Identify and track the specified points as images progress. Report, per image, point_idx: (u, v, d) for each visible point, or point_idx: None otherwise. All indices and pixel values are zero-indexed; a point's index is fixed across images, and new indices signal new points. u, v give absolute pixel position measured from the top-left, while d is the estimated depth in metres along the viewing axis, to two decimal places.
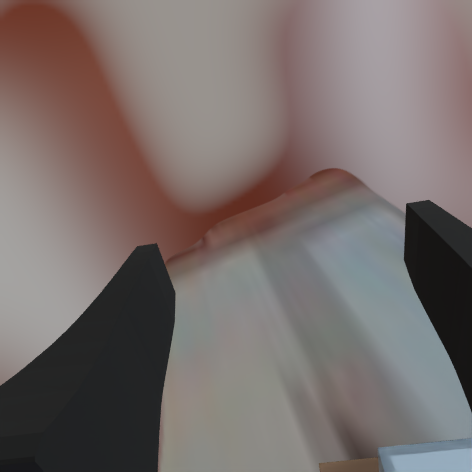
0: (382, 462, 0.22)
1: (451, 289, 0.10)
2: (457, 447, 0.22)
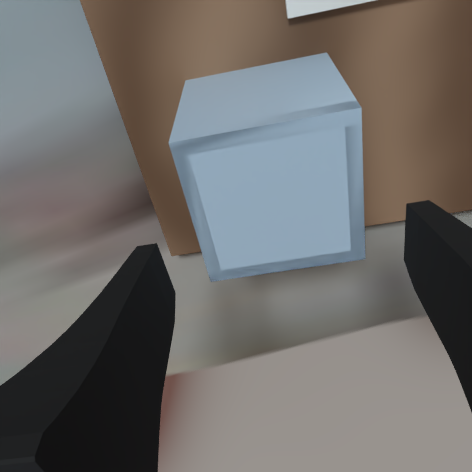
0: (229, 277, 0.17)
1: (451, 289, 0.10)
2: (197, 197, 0.15)
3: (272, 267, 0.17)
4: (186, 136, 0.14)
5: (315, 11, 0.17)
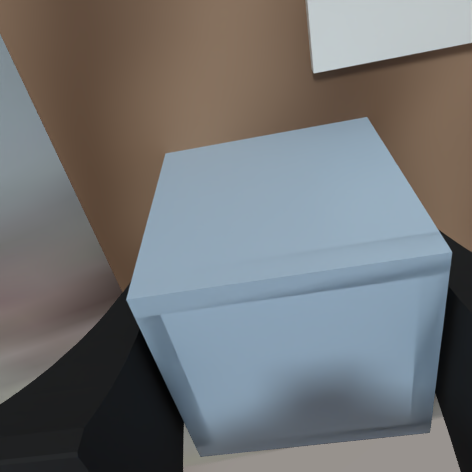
0: (228, 451, 0.12)
1: None
2: (176, 366, 0.09)
3: (291, 442, 0.11)
4: (156, 287, 0.08)
5: (354, 63, 0.11)
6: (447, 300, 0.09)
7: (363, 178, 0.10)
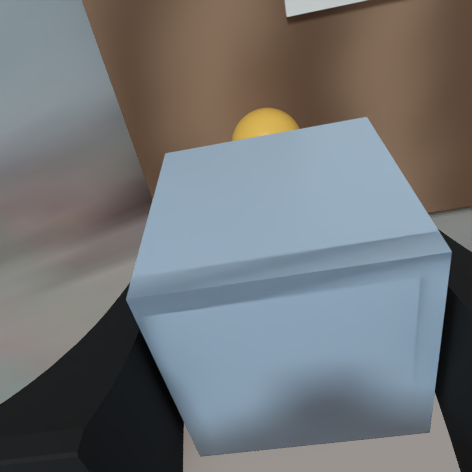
0: (228, 450, 0.12)
1: None
2: (176, 365, 0.09)
3: (291, 441, 0.11)
4: (156, 286, 0.08)
5: (313, 10, 0.17)
6: (447, 300, 0.09)
7: (363, 178, 0.10)
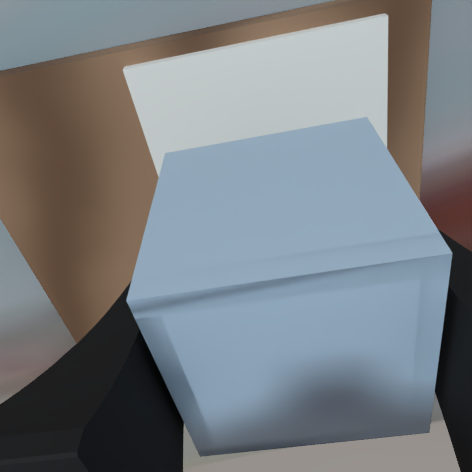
0: (228, 450, 0.12)
1: None
2: (176, 366, 0.09)
3: (291, 441, 0.11)
4: (156, 287, 0.08)
5: None
6: (447, 300, 0.09)
7: (363, 179, 0.10)
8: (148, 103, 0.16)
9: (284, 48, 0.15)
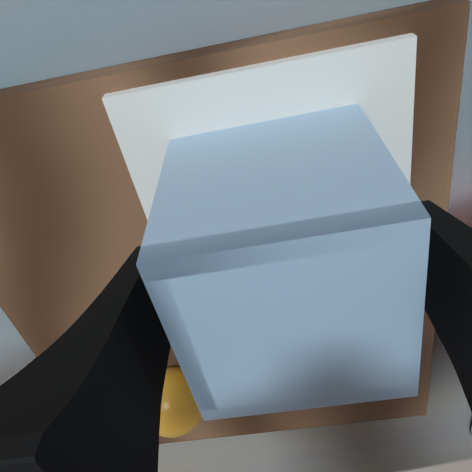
0: (229, 415, 0.12)
1: (451, 289, 0.10)
2: (182, 329, 0.10)
3: (288, 405, 0.12)
4: (162, 253, 0.09)
5: None
6: None
7: (353, 157, 0.11)
8: (133, 136, 0.14)
9: (293, 74, 0.13)
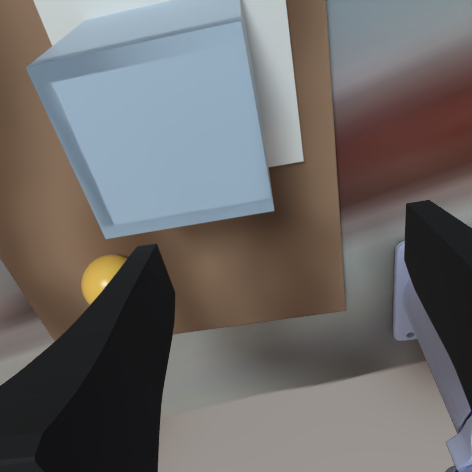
0: (126, 233, 0.15)
1: (452, 290, 0.10)
2: (71, 136, 0.13)
3: (171, 221, 0.15)
4: (47, 60, 0.12)
5: None
6: None
7: (212, 7, 0.14)
8: (55, 16, 0.17)
9: None
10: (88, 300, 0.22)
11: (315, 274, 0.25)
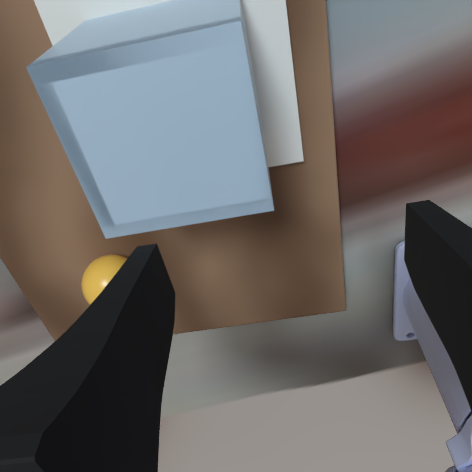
0: (126, 233, 0.15)
1: (451, 289, 0.10)
2: (72, 136, 0.13)
3: (171, 221, 0.15)
4: (47, 60, 0.12)
5: None
6: None
7: (212, 7, 0.14)
8: (55, 16, 0.17)
9: None
10: (88, 300, 0.22)
11: (315, 274, 0.25)
